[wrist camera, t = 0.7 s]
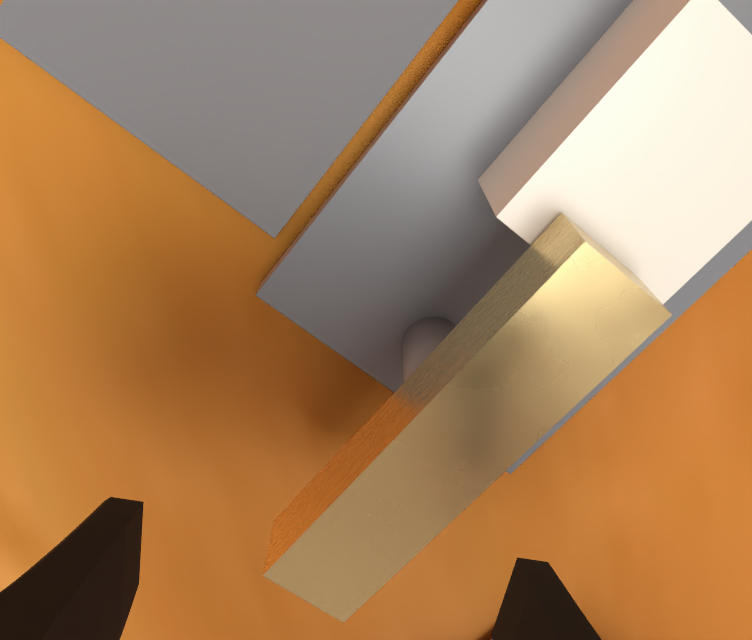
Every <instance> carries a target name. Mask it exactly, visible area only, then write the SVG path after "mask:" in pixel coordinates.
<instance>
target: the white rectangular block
mask: <svg viewBox="0 0 752 640" xmlns="http://www.w3.org/2000/svg"><path fill="white" fill-rule="evenodd" d="M478 182H479V184H480V186H481V188H482V190H483V192H484V194H485V196H486V198H487V200H488V202H489V204H490V206H491V208H492V210H493V212H494V214H495V216H496V217H497V218H498V219H499V220H500V221H502V222H503V223H504V224H505V225H507V226H508V227H509V228H510V229H511V230H513V231H514V232H515V233H516V234H518V235H519V236H520V237H521V238H522V239H524V240H525V241H526V242H527V243H529V244H530V245H532V244H533V243H534V242H535V241H536V240H537V239H538V238H539V237H540V236H541V235H542V234H543V232H544V231H545V230H546V229H547V228H548V227H549V226H550V225H551V224H552V223H553V222H554V221H555V220H556V219H557V217H558V216H559V215H560V214H561V213H563V214H564V215H565V216H566V217H568V218H569V219H570V220H571V221H572V222H573V223H575V224H576V225H577V226H578V227H579V228H581V229H582V230H583V231H584V232H585V233H586V234H588V235H589V236H590V237H591V238H592V239H594V240H595V241H596V242H597V243H598V244H599V245H601V246H602V247H603V248H604V249H605V250H607V251H608V252H609V253H610V254H611V255H612V256H614V257H615V258H616V259H617V260H618V261H619V262H621V263H622V264H623V265H624V266H625V267H627V268H628V269H629V270H630V271H631V272H632V273H634V274H635V275H636V276H637V277H638V278H640V279H641V280H642V282H643V283H644V284H645V285H646V286H647V287H648V288H649V289H650V290H651V292H652V293H653V294H654V295H655V296H656V297H657V298H658V299H659V300H660V302H661V303H662V304H664V303H665V302H666V301H667V300H668V299H669V298H670V297H671V296H672V295H674V294H675V293H676V292H677V291H678V290H679V289H680V288H681V287H682V286H683V285H684V284H685V283H686V282H687V281H688V280H689V279H690V278H691V277H693V276H694V275H695V274H696V273H697V272H698V271H699V270H700V269H701V268H702V267H703V266H704V265H705V264H706V263H707V262H708V261H709V260H710V259H711V258H713V257H714V256H715V255H716V254H717V253H718V252H719V251H720V250H721V249H722V248H723V247H724V246H725V245H726V244H727V243H728V242H729V241H730V240H732V239H733V238H734V237H735V236H736V235H737V234H738V233H739V232H740V231H741V230H742V229H743V228H744V227H745V226H746V225H747V224H748V223H749V222H750V221H752V35H751V33H750V32H749V31H748V30H747V29H746V28H745V27H744V26H743V25H742V24H741V23H740V22H739V21H738V20H737V19H736V18H735V17H734V16H733V15H732V14H731V13H730V12H729V11H728V10H727V9H726V8H725V7H724V6H723V5H722V4H721V3H720V2H719V1H718V0H633V1H632V2H631V3H630V4H629V5H628V7H627V8H626V9H625V10H624V11H623V12H622V14H621V15H620V16H619V17H618V18H617V19H616V21H615V22H614V23H613V24H612V25H611V26H610V27H609V29H608V30H607V31H606V32H605V33H604V34H603V36H602V37H601V38H600V39H599V40H598V41H597V42H596V44H595V45H594V46H593V47H592V48H591V49H590V51H589V52H588V53H587V54H586V55H585V56H584V57H583V59H582V60H581V61H580V62H579V63H578V64H577V66H576V67H575V68H574V69H573V70H572V71H571V73H570V74H569V75H568V76H567V77H566V78H565V79H564V81H563V82H562V83H561V84H560V85H559V86H558V88H557V89H556V90H555V91H554V92H553V93H552V94H551V96H550V97H549V98H548V99H547V100H546V101H545V103H544V104H543V105H542V106H541V107H540V108H539V109H538V111H537V112H536V113H535V114H534V115H533V116H532V118H531V119H530V120H529V121H528V122H527V123H526V125H525V126H524V127H523V128H522V129H521V130H520V131H519V133H518V134H517V135H516V136H515V137H514V138H513V140H512V141H511V142H510V143H509V144H508V145H507V146H506V148H505V149H504V150H503V151H502V152H501V153H500V155H499V156H498V157H497V158H496V159H495V160H494V161H493V163H492V164H491V165H490V166H489V167H488V168H487V170H486V171H485V172H484V173H483V174H482V175H481V177H480V178H479V179H478Z"/></svg>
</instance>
